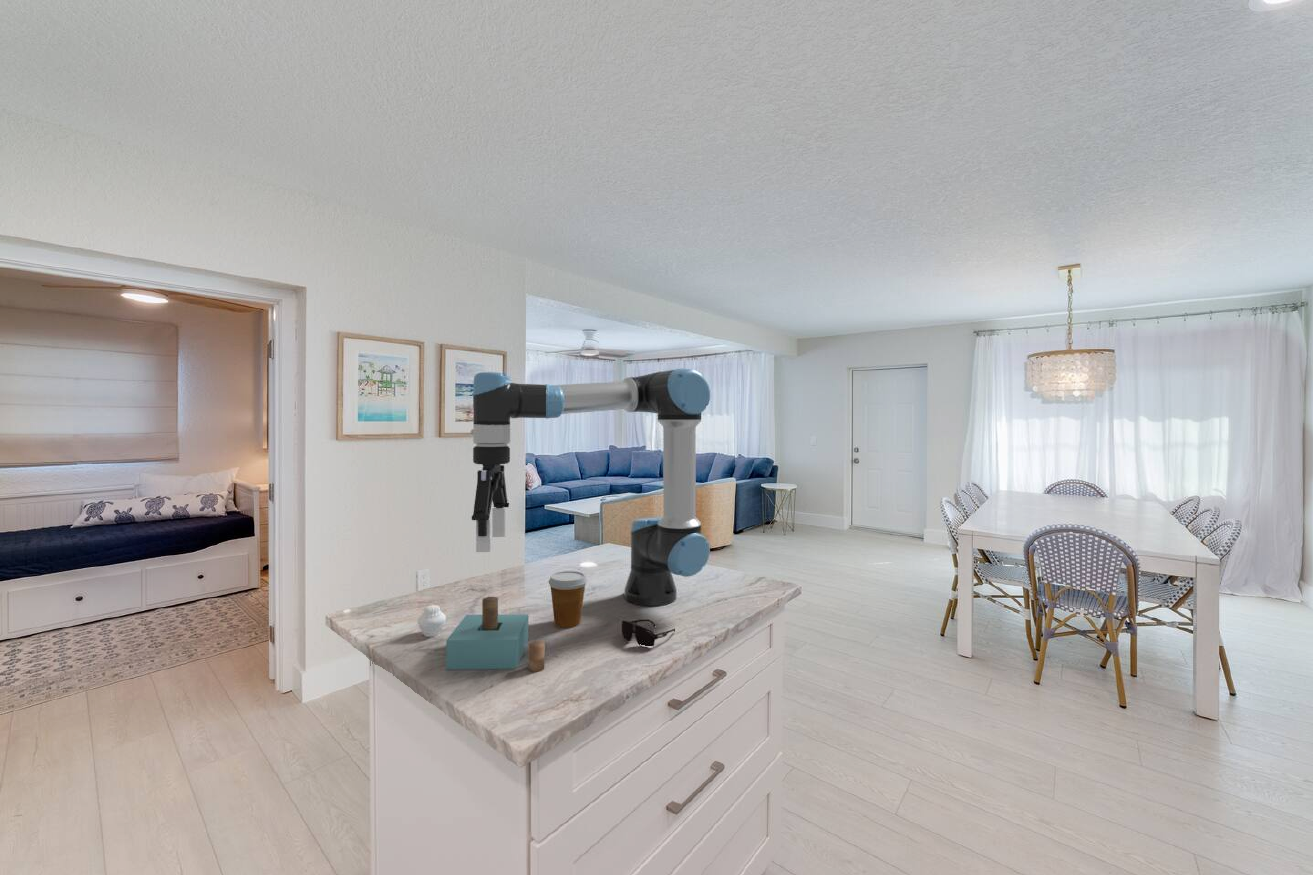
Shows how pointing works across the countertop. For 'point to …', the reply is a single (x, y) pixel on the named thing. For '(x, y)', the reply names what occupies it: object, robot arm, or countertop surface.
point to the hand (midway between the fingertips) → (491, 543)
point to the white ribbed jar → (431, 621)
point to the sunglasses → (641, 632)
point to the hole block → (487, 643)
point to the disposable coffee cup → (567, 597)
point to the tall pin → (490, 613)
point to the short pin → (536, 656)
